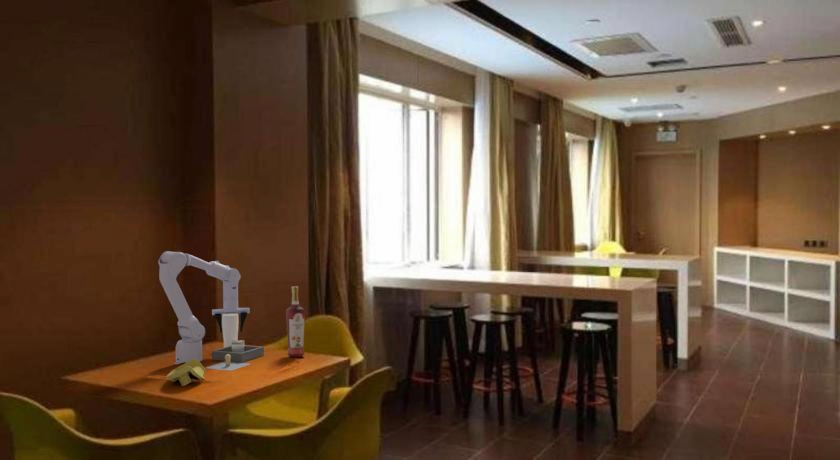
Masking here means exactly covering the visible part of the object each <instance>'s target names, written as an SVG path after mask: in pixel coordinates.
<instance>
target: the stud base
mask: <svg viewBox="0 0 840 460" xmlns="http://www.w3.org/2000/svg"><path fill="white" fill-rule="evenodd" d="M225 359H226V361H222V362H219V363H216V364H212V365H210V366H206V367H205V369H210V370H220V371H230V372H231V371H235V370H237V369H240V368H243V367H246V366H250V365H251V363H249V362H246V363H245V362H232V361H230V359H231V356H230V355H229V354H227V355H225Z"/></svg>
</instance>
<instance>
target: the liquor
mask: <svg viewBox="0 0 840 460" xmlns="http://www.w3.org/2000/svg"><path fill="white" fill-rule="evenodd" d="M291 294H292V295H291V304H290V305H291V306H290V307H288V308H287V309H285V319H286V320H285V321H286V331H287V351H288V352H287V354H286V355H287V356H288V358H290V359H301V358H302V357H303V356H304V355H305V351H304V347H305V346H304V344H305V343H304V341H305V340H304V339H305V313H306V312H305V310H306V309H305V308H303V307H302V306H300V301H299V286H291Z"/></svg>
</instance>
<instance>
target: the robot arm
mask: <svg viewBox="0 0 840 460" xmlns="http://www.w3.org/2000/svg"><path fill="white" fill-rule="evenodd" d="M157 262H158V266H159V274H158V276H159V278H158V279H159V282H160V284H161V286H162V288H163V290H164V292H165V294H166V296H167V299H168V301H169V302H170V304H171V307H172V309H173V311H174V313H175V315H176V317H177V319H178V321H177V326H178V327H177V328H178V334H179V336H180V337H181V339H180V340H178V341H177V342H176V345H175V362H174V363H173V364H174V365H179V364H182V363H187V362H189V361H191V360H193V359H198V360H199V362H201V361H203V339H204V337H205V335H206V329H205V326H204V325H202V324H201V322H200V321H199V319H198V318H197V317H196V316H195V315H194V314H193V312H192V310H191V308H190V306H189V304H188V302H187V300H186V297H185V295H184V294H183V293H184V292H183V291H182V288H180V285H179V283H178V281H177V277H178V276H179V274H180V273H181V271H182V270H183V269H184V268H185V267H188V266H192V267H195V268H198V269H201V270H203V271H205V273H206V275H207V276H210V277H214V278H216V279H219V280H220V281H221V282H222V293H223V294H222V295H223V298H222V300H223V301H222V302H223V306H222V307H223V308H218V309H217V308H216V309H211V315H212V316H214V317H215V319H216V321H217V324H218V327H219V331H220V332H219V333H220V334H223V330H222V314H238V315H240V316H239V318H240V322H239V323H240V325H239V331H240V333H242V332H243V327H244V323H245V321H246V319H247V316H248V314H250V313H251V311H250V310H251V309H250V307H239V281H240V280H241V278H242V275H241V274H240V272H239V270H238V269H237V268H235V267H234V268H233V267H230V265H227V264H226V265H224V264H222V263H220V260H215V261H213V260H212V261H209V262H208V261H206V260H203V259H201V258H199V257H196V256H194V255H192V254H189V253H184V252H181V251H170V250H169V251H168V250H166V251H164V252H162V254H161V255H160V257H159V258H158V261H157Z"/></svg>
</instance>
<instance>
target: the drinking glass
mask: <svg viewBox="0 0 840 460" xmlns="http://www.w3.org/2000/svg"><path fill="white" fill-rule="evenodd" d="M221 317H222V339H223V348H224V347H228V346H231V345H232V341H233V340H239V339H238V336H239V326H240V325H239V323H240V322H239V313H238V314H221Z"/></svg>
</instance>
